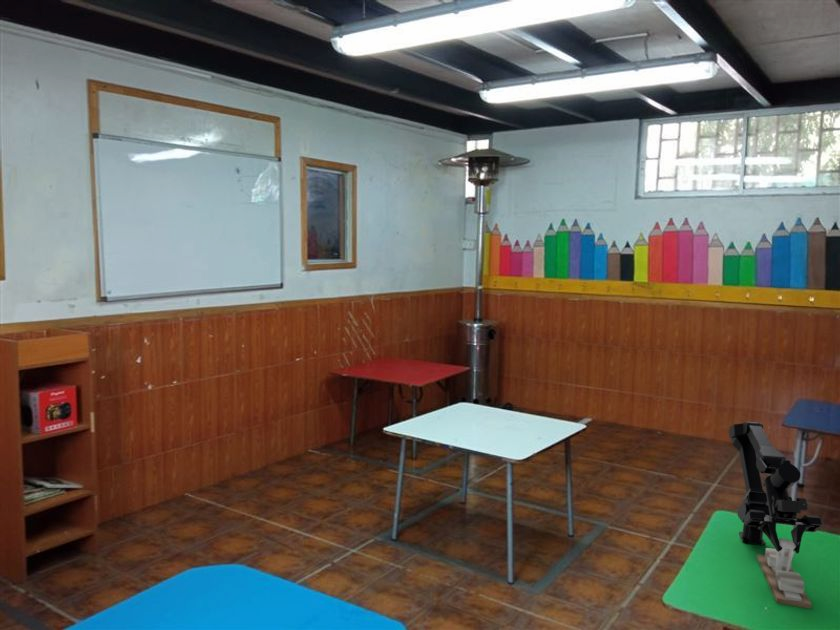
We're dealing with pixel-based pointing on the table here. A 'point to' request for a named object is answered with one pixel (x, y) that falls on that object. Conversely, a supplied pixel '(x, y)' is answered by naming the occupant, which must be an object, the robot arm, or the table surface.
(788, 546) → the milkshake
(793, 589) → the wooden board with pads
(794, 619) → the table surface
